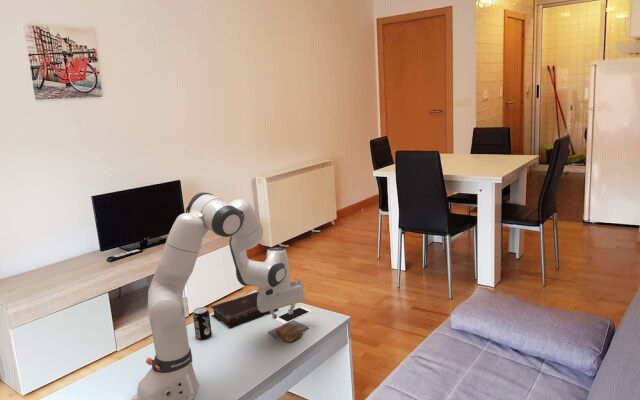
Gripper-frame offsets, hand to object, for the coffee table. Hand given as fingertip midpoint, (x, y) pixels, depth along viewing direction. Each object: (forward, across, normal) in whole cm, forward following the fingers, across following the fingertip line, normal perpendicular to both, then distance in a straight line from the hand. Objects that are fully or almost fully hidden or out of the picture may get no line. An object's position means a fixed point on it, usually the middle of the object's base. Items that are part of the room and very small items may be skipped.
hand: (282, 316), depth 213 cm
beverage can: (+7, +30, -14) cm, 34 cm away
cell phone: (+7, -9, -11) cm, 16 cm away
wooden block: (+4, -1, +10) cm, 11 cm away
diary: (+7, +9, -26) cm, 28 cm away
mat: (+7, -1, +1) cm, 7 cm away
